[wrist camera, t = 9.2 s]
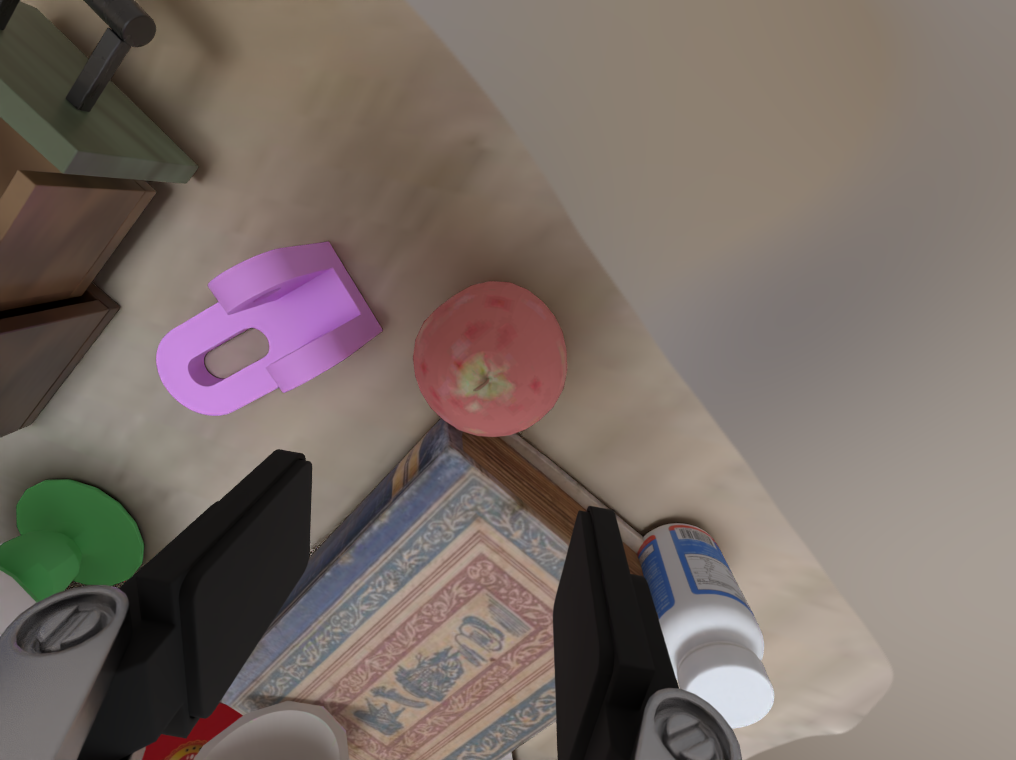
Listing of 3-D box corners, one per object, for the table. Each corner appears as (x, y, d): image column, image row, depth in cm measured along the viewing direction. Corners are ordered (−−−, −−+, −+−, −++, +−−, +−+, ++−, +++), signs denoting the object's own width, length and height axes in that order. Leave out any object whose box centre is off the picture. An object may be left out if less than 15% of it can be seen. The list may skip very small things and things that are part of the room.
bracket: (328, 241, 26) (257, 251, 19) (383, 330, 27) (334, 367, 21) (155, 344, 29) (40, 383, 22) (213, 420, 30) (122, 478, 23)
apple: (474, 418, 29) (452, 491, 21) (411, 313, 27) (361, 352, 19) (585, 366, 27) (602, 424, 20) (526, 250, 25) (521, 266, 18)
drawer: (88, -86, 21) (-112, -218, 14) (256, 90, 23) (146, 43, 16) (-55, 173, 25) (-259, 160, 19) (97, 304, 27) (-40, 333, 21)
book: (693, 636, 25) (403, 833, 32) (662, 550, 31) (426, 731, 38) (443, 430, 22) (186, 698, 29) (465, 382, 28) (250, 612, 35)
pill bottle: (655, 598, 32) (694, 753, 23) (618, 540, 31) (644, 678, 22) (733, 569, 31) (809, 721, 22) (698, 506, 29) (762, 639, 20)
